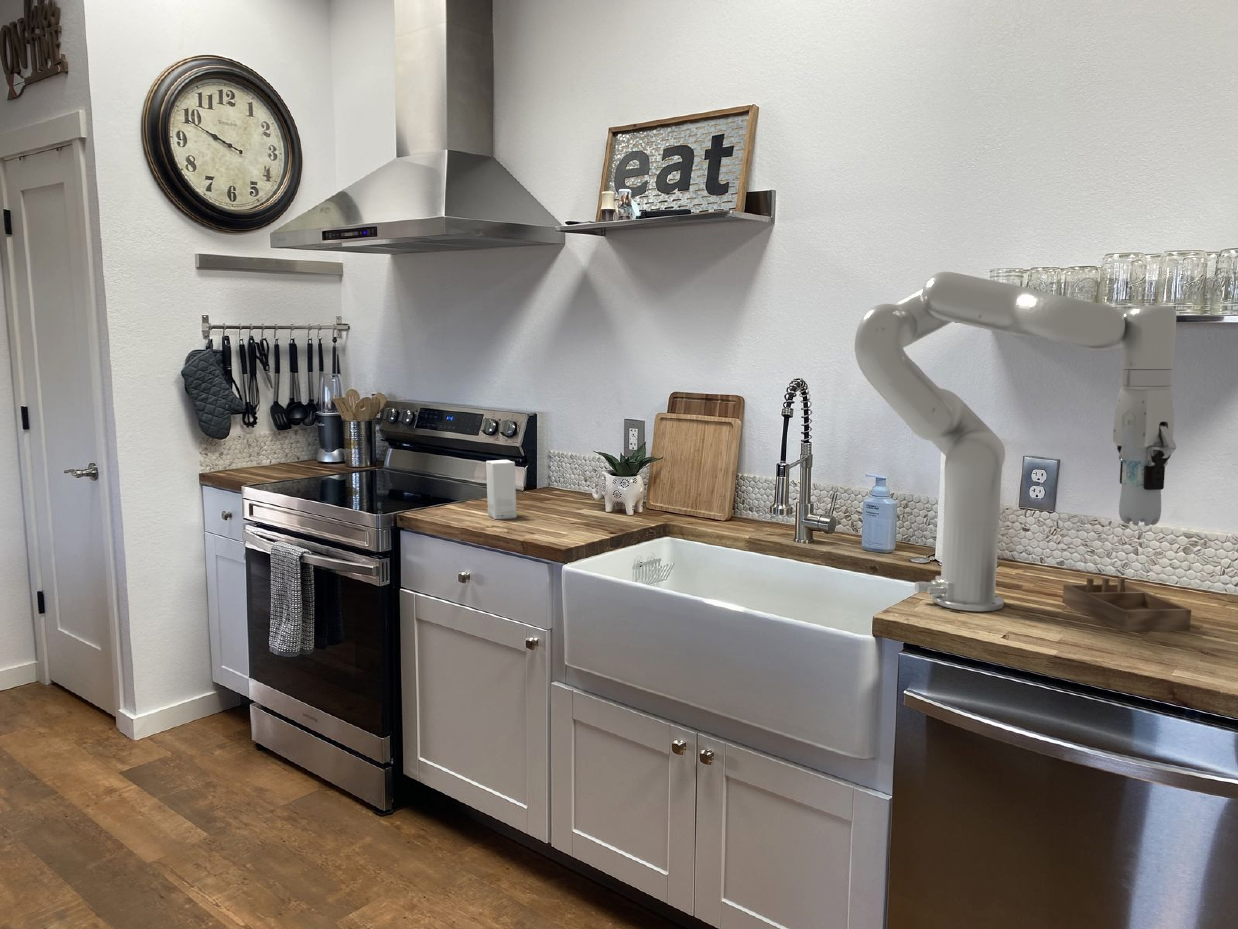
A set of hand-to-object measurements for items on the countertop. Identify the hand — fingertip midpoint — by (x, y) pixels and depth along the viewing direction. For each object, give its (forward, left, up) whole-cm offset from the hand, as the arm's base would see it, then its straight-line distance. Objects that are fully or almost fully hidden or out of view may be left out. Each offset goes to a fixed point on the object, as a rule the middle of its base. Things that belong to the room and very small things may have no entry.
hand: (1141, 485), depth 160 cm
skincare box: (-112, +109, -24) cm, 158 cm away
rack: (+1, +4, -24) cm, 24 cm away
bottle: (0, 0, -7) cm, 7 cm away
